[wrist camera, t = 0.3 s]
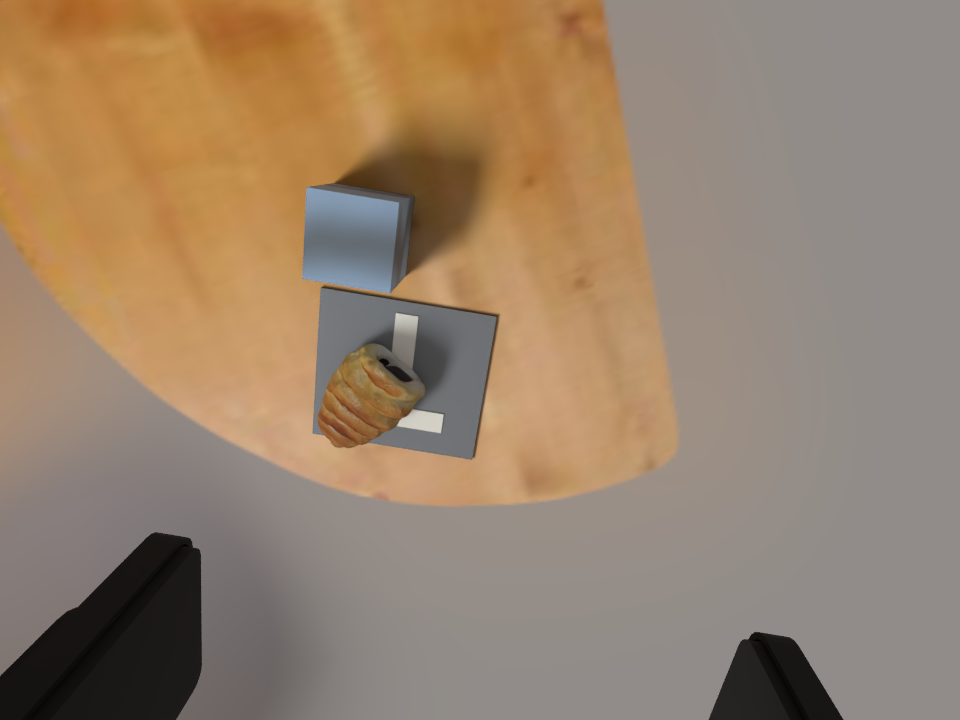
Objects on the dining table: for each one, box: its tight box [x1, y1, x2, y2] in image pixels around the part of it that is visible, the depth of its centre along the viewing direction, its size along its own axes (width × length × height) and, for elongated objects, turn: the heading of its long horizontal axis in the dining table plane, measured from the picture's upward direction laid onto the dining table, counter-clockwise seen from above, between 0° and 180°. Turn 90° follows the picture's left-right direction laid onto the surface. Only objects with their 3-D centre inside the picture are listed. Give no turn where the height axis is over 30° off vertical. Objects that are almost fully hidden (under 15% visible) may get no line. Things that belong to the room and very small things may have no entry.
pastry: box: [318, 343, 425, 448], centre depth 45 cm, size 9×7×4 cm
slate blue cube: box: [303, 183, 415, 293], centre depth 39 cm, size 6×6×6 cm
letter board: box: [313, 287, 497, 460], centre depth 46 cm, size 13×14×1 cm
